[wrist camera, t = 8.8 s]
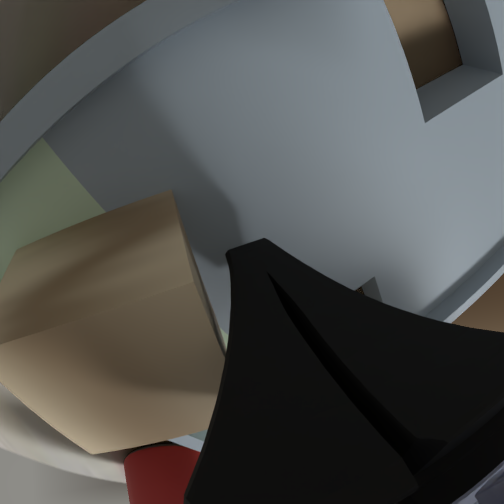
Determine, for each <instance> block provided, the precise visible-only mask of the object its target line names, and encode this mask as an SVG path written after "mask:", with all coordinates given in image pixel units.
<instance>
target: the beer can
mask: <svg viewBox="0 0 504 504" xmlns="http://www.w3.org/2000/svg"><path fill="white" fill-rule="evenodd" d="M199 455H200V452H199V451H196V450H193V449H190V448H188V447H185V446H182V445H179V444H157V445H149V446H146V447H142V448H139V449H137V450H135V451H133V452H131V453H130V454H129V455H128V456H127V457H126V458H125V460H124V469H125V476H126V482H127V488H128V494H129V501H130V504H183V502H184V493H185V490H186V488H187V485H188V483H189V480H190V478H191V475H192V473H193V470H194V467H195V465H196V462H197V460H198V457H199Z"/></svg>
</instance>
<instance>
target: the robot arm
mask: <svg viewBox="0 0 504 504" xmlns="http://www.w3.org/2000/svg"><path fill="white" fill-rule="evenodd" d="M225 256H226V260H227V263H228V267H229V271H230V282H231V309H230V323H229V335H228V343H227V350H226V356H225V362H224V368H223V373H222V377H221V382H220V387H219V391H218V396H217V400H216V403H215V407H214V410H213V414H212V417H211V420H210V424H209V427H208V430H207V434H206V437H205V440H204V443H203V446H202V449H201V452H200V455H199V457H198V460H197V462H196V465H195V467H194V470H193V473H192V475H191V478H190V480H189V483H188V485H187V488H186V490H185V493H184V502H183V504H504V333H503V332H496V331H489V330H482V329H475V328H469V327H464V326H460V325H455V324H451V323H447V322H442V321H438V320H435V319H431V318H427V317H424V316H420V315H417V314H414V313H411V312H408V311H405V310H402V309H399V308H396V307H393V306H390V305H388V304H385V303H382V302H380V301H378V300H375V299H373V298H370V297H368V296H365V295H363V294H361V293H358V292H356V291H354V290H352V289H350V288H348V287H346V286H344V285H342V284H340V283H338V282H336V281H335V280H333V279H331V278H329V277H327V276H325V275H324V274H322V273H320V272H318V271H317V270H315V269H313V268H312V267H310V266H308V265H307V264H305V263H303V262H302V261H300V260H298V259H297V258H295V257H294V256H292V255H291V254H289V253H288V252H286V251H285V250H283V249H282V248H280V247H279V246H277V245H276V244H274V243H273V242H271V241H270V240H268V239H266V238H262V239H259V240H256V241H253V242H250V243H247V244H244V245H241V246H238V247H235V248H232V249H229V250H228V251H227V252H226V254H225Z"/></svg>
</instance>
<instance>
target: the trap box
mask: <svg viewBox="0 0 504 504" xmlns="http://www.w3.org/2000/svg"><path fill="white" fill-rule="evenodd" d="M443 1H444V3H445V6H446V9H447V12H448V15H449V18H450V21H451V24H452V27H453V30H454V33H455V37H456V40H457V44H458V47H459V51H460V55H461V59H462V63H463V65H461V66H459V67H457V68H456V69H454V70H452V71H450V72H448V73H446V74H444V75H442V76H440V77H438V78H437V79H435V80H433V81H431V82H429V83H427V84H425V85H424V86H422V87H420V88H418V89H416V88H415V85H414V81H413V78H412V75H411V72H410V69H409V65H408V62H407V59H406V57H405V54H404V51H403V48H402V45H401V43H400V40H399V37H398V35H397V32H396V29H395V27H394V24H393V22H392V19H391V17H390V15H389V12H388V10H387V8H386V5H385V3H384V1H383V0H147V1H145V2H143V3H142V4H140V5H138V6H137V7H135V8H133V9H132V10H130V11H129V12H127V13H126V14H124V15H122V16H121V17H119V18H118V19H116V20H115V21H114V22H112V23H111V24H109V25H108V26H106V27H105V28H104V29H102V30H101V31H99V32H98V33H97V34H95V35H94V36H93V37H91V38H90V39H89V40H87V41H86V42H85V43H83V44H82V45H81V46H80V47H78V48H77V49H76V50H75V51H73V52H72V53H71V54H70V55H68V56H67V57H66V58H65V59H64V60H63V61H61V62H60V63H59V64H58V65H57V66H56V67H54V68H53V69H52V70H51V71H50V72H49V73H48V74H47V75H46V76H44V77H43V78H42V79H41V80H40V81H39V82H38V83H37V84H36V85H35V86H34V87H33V88H32V89H31V90H30V91H29V92H28V93H27V94H26V95H25V96H24V97H23V98H22V99H21V100H20V101H19V102H18V103H17V104H16V105H15V106H14V107H13V108H12V110H11V111H10V112H9V113H8V114H7V115H6V116H5V117H4V118H3V119H2V121H1V122H0V282H1V280H2V278H3V276H4V274H5V271H6V269H7V267H8V265H9V263H10V261H11V259H12V257H13V256H14V254H15V252H16V250H17V249H19V248H21V247H23V246H26V245H28V244H30V243H32V242H35V241H37V240H39V239H41V238H44V237H46V236H48V235H51V234H53V233H56V232H58V231H60V230H63V229H65V228H68V227H70V226H73V225H75V224H78V223H80V222H83V221H85V220H88V219H90V218H93V217H95V216H98V215H101V214H103V213H106V212H108V211H111V210H114V209H116V208H119V207H122V206H125V205H127V204H130V203H133V202H136V201H139V200H141V199H144V198H147V197H150V196H153V195H156V194H159V193H162V192H165V191H168V190H171V189H172V192H173V195H174V199H175V202H176V205H177V208H178V211H179V214H180V217H181V220H182V223H183V226H184V229H185V232H186V235H187V238H188V241H189V243H190V246H191V249H192V252H193V255H194V258H195V261H196V264H197V266H198V269H199V272H200V275H201V278H202V280H203V283H204V286H205V289H206V291H207V294H208V297H209V300H210V302H211V305H212V308H213V310H214V313H215V316H216V318H217V321H218V324H219V327H220V330H221V333H222V336H223V339H224V342H225V345H226V348H227V343H228V335H229V323H230V309H231V282H230V271H229V267H228V263H227V260H226V256H225V254H226V252H227V251H228V250H229V249H232V248H235V247H238V246H241V245H244V244H247V243H250V242H253V241H256V240H259V239H262V238H266V239H268V240H270V241H271V242H273V243H274V244H276V245H277V246H279V247H280V248H282V249H283V250H285V251H286V252H288V253H289V254H291V255H292V256H294V257H295V258H297V259H298V260H300V261H302V262H303V263H305V264H307V265H308V266H310V267H312V268H313V269H315V270H317V271H318V272H320V273H322V274H324V275H325V276H327V277H329V278H331V279H333V280H335V281H336V282H338V283H340V284H342V285H344V286H346V287H348V288H350V289H352V290H354V291H355V290H356V289H357V288H359V287H360V286H361V287H362V289H363V292H364V295H365V296H368V297H370V298H373V299H375V300H378V301H380V302H382V303H385V304H388V305H390V306H393V307H396V308H399V309H402V310H405V311H408V312H411V313H414V314H417V315H420V316H424V317H427V318H431V319H435V320H438V321H442V322H447V323H451V322H453V321H454V320H455V319H456V318H457V317H458V316H459V315H460V314H462V312H464V311H465V310H466V309H467V308H468V307H469V306H470V305H472V304H473V303H474V302H475V301H476V300H477V299H478V298H479V297H480V296H481V295H482V294H483V293H484V292H485V291H486V290H487V289H488V288H489V287H490V286H491V285H492V284H493V283H494V282H495V281H496V280H497V279H498V278H499V277H500V276H501V275H502V274H503V273H504V0H443ZM207 430H208V429H207ZM207 430H204V431H200V432H197V433H193V434H189V435H185V436H181V437H178V438H174V439H169V441H171V442H174V443H177V444H179V445H182V446H185V447H188V448H190V449H193V450H196V451H199V452H201V449H202V446H203V443H204V440H205V437H206V434H207Z"/></svg>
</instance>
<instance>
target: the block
mask: <svg viewBox="0 0 504 504" xmlns="http://www.w3.org/2000/svg"><path fill="white" fill-rule="evenodd" d="M226 350H227V348H226V345H225V342H224V339H223V336H222V333H221V330H220V327H219V324H218V321H217V318H216V316H215V313H214V310H213V308H212V305H211V302H210V300H209V297H208V294H207V291H206V289H205V286H204V283H203V280H202V278H201V275H200V272H199V269H198V266H197V264H196V261H195V258H194V255H193V252H192V249H191V246H190V243H189V241H188V238H187V235H186V232H185V229H184V226H183V223H182V220H181V217H180V214H179V211H178V208H177V205H176V202H175V199H174V195H173V192H172V189H171V190H168V191H165V192H162V193H159V194H156V195H153V196H150V197H147V198H144V199H141V200H139V201H136V202H133V203H130V204H127V205H125V206H122V207H119V208H116V209H114V210H111V211H108V212H106V213H103V214H101V215H98V216H95V217H93V218H90V219H88V220H85V221H83V222H80V223H78V224H75V225H73V226H70V227H68V228H65V229H63V230H60V231H58V232H56V233H53V234H51V235H48V236H46V237H44V238H41V239H39V240H37V241H35V242H32V243H30V244H28V245H26V246H23V247H21V248H19V249H17V250H16V252H15V254H14V256H13V257H12V259H11V261H10V263H9V265H8V267H7V269H6V271H5V274H4V276H3V278H2V280H1V282H0V382H1V383H2V384H3V385H4V386H5V387H6V388H7V389H8V390H9V391H10V392H11V393H12V394H14V395H15V396H16V397H17V398H18V399H19V400H20V401H21V402H23V403H24V404H25V405H26V406H27V407H28V408H30V409H31V410H32V411H33V412H34V413H36V414H37V415H38V416H39V417H41V418H42V419H43V420H44V421H46V422H47V423H48V424H49V425H51V426H52V427H53V428H55V429H56V430H57V431H59V432H60V433H61V434H63V435H64V436H65V437H67V438H68V439H70V440H71V441H72V442H74V443H75V444H77V445H78V446H80V447H81V448H83V449H84V450H86V451H87V452H89V453H90V454H98V453H105V452H111V451H117V450H122V449H128V448H133V447H138V446H143V445H148V444H152V443H157V442H161V441H165V440H169V439H174V438H178V437H181V436H185V435H189V434H193V433H197V432H200V431H204V430H207V429H208V427H209V424H210V420H211V417H212V414H213V410H214V407H215V403H216V400H217V396H218V391H219V387H220V382H221V377H222V373H223V368H224V362H225V356H226Z"/></svg>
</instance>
